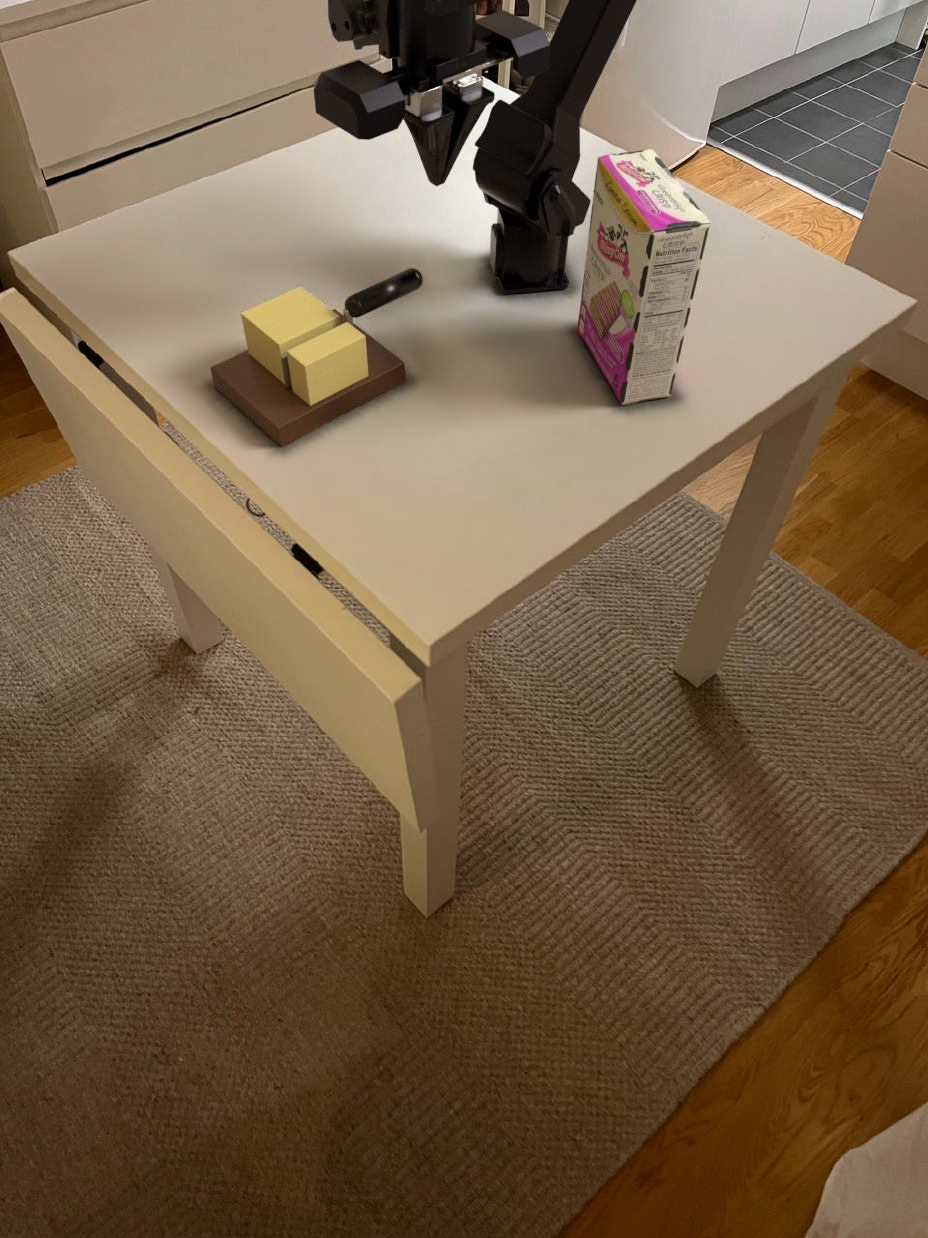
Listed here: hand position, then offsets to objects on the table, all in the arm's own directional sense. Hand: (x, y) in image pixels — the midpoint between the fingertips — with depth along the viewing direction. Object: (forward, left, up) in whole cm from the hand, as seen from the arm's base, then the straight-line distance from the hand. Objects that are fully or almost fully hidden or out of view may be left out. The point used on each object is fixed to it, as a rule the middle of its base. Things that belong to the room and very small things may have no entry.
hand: (436, 182), depth 78 cm
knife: (+8, +7, -11) cm, 15 cm away
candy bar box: (-15, +9, -13) cm, 22 cm away
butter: (+12, +7, -11) cm, 18 cm away
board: (+12, +7, -13) cm, 19 cm away
